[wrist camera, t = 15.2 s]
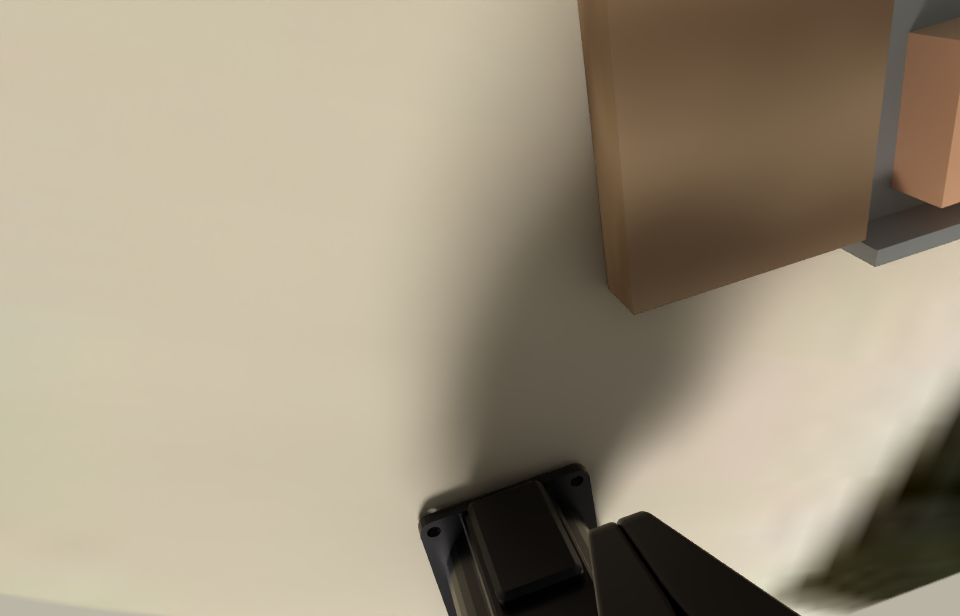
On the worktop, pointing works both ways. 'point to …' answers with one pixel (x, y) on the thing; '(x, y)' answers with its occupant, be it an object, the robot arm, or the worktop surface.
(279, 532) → the worktop surface
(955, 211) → the grey tray
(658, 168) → the walnut step
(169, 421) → the worktop surface
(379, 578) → the worktop surface
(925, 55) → the terracotta tile
